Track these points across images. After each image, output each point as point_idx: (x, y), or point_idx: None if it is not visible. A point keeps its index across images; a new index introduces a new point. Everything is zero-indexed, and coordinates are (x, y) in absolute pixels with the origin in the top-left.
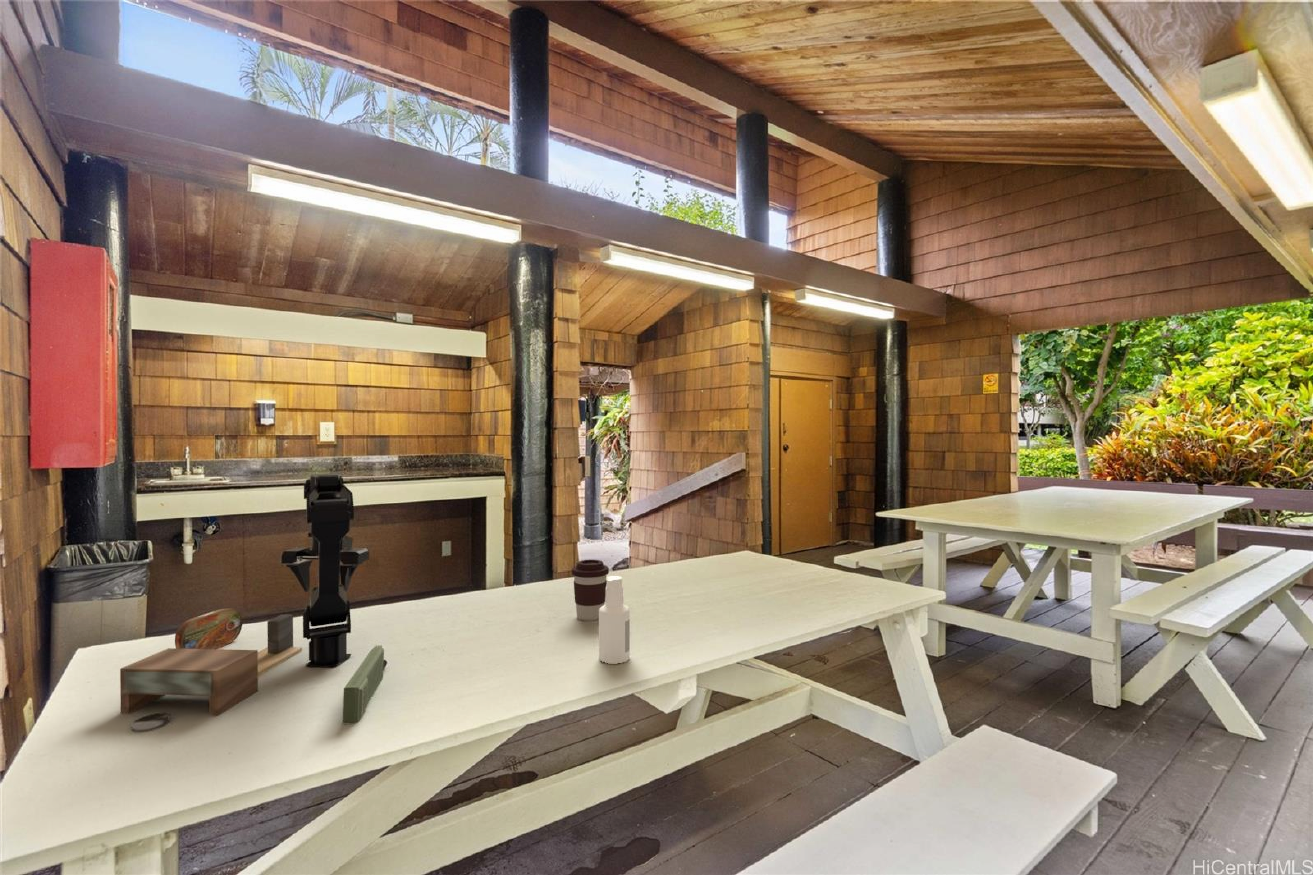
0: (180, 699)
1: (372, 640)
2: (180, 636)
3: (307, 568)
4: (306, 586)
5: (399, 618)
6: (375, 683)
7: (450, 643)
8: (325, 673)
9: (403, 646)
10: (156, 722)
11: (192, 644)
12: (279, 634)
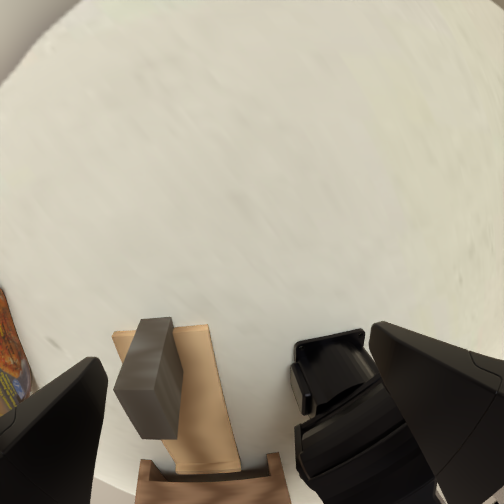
0: None
1: (362, 211)
2: None
3: (17, 482)
4: (97, 405)
5: (321, 9)
6: None
7: (496, 213)
8: None
9: (441, 243)
10: None
11: (17, 385)
12: (178, 404)
